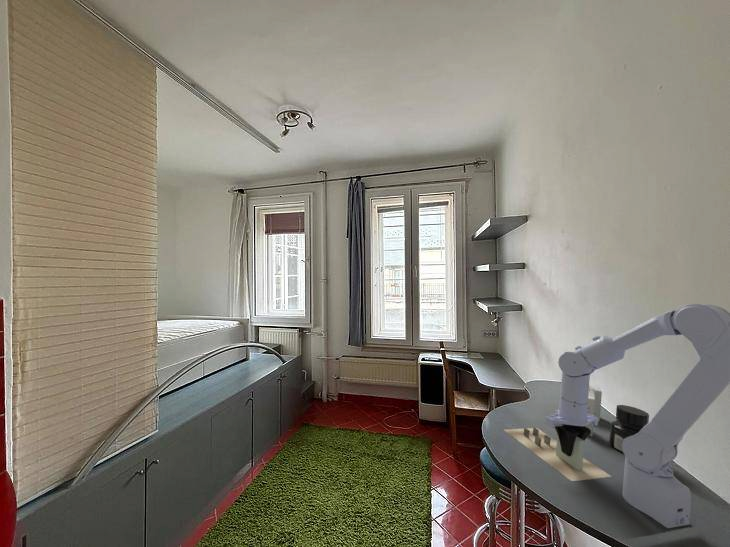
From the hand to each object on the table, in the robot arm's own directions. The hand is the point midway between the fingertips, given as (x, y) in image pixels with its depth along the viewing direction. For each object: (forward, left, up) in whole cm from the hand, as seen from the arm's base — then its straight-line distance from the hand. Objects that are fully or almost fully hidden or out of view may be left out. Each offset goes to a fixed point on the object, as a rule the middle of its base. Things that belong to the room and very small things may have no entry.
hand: (569, 453), depth 74 cm
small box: (+24, -35, -3) cm, 43 cm away
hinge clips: (+10, 0, -2) cm, 10 cm away
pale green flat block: (0, 0, -2) cm, 2 cm away
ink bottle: (+3, -25, -3) cm, 25 cm away
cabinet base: (+5, 0, -3) cm, 6 cm away
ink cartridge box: (+16, -22, -3) cm, 27 cm away
